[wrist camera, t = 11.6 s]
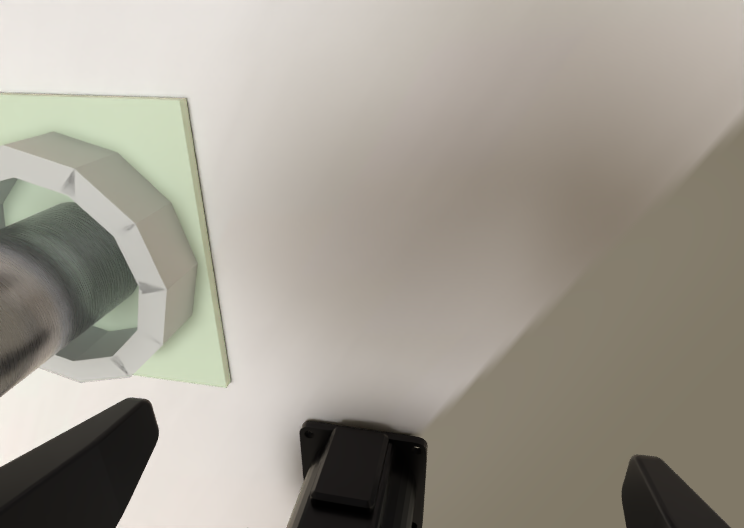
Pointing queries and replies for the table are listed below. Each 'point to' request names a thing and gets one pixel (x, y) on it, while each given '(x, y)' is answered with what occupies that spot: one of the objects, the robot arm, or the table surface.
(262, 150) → the table surface
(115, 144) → the ring plate
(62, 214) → the metal bottle
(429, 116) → the table surface
